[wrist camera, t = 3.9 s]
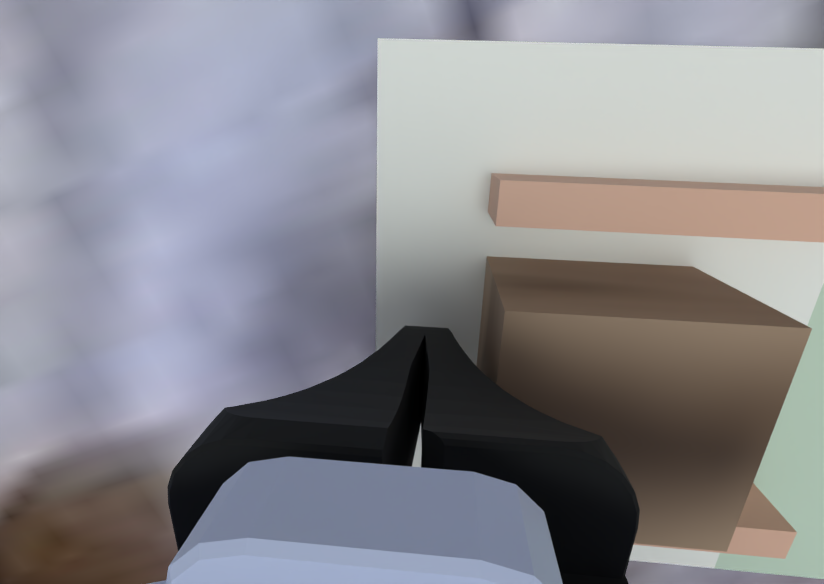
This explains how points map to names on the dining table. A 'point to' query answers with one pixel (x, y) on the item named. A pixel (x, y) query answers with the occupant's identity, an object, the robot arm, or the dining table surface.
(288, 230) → the dining table surface
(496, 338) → the walnut block
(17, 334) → the dining table surface
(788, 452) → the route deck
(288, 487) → the robot arm
